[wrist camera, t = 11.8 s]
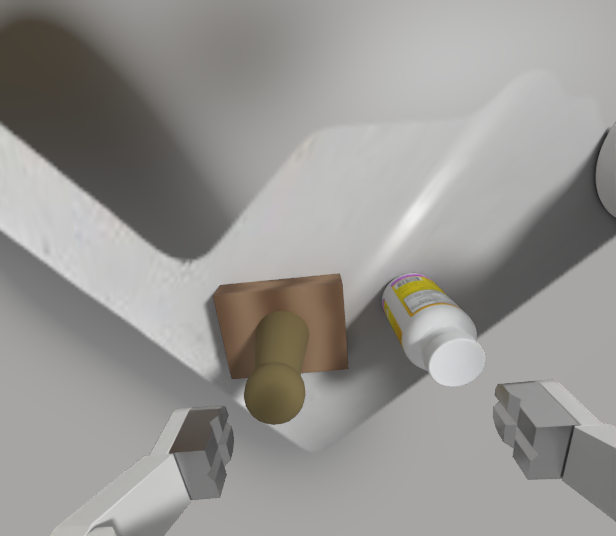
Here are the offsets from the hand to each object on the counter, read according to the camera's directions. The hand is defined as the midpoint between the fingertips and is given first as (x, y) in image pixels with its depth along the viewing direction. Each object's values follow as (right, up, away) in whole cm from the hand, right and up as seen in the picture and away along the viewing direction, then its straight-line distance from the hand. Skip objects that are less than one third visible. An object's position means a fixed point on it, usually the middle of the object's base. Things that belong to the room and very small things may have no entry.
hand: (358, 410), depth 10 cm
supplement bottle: (+10, +1, +28) cm, 30 cm away
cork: (-4, -3, +26) cm, 27 cm away
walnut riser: (-4, -2, +29) cm, 29 cm away
